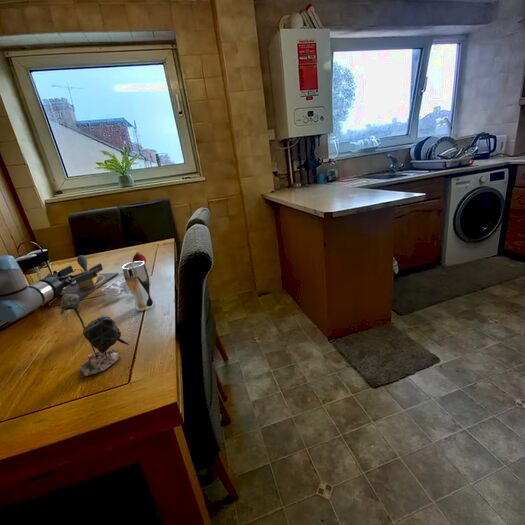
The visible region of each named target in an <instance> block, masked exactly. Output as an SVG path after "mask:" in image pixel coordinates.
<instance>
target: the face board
mask: <svg viewBox="0 0 525 525" xmlns="http://www.w3.org/2000/svg"><path fill="white" fill-rule="evenodd" d="M99 275H100V277H99V278H98V280H97V281H96V283H95V284H94V285H93V286H88V287H83V288H79V286H78V284H77V285H75V286H71V285H69V286H68V287H67V288H66V289H64V290H63V291H62V293H61V294H60V295H58V296H57V297H62V296H63V295H64V294H70V293H83V292H87V295H90V294H92V293H93V292H95V291H96V290H97V289H99V288H100V287H102V286H103V285H105V284H106V283H108V282H109V281H111V280H112V279H113V278H115V277H117V276H118V275H119V272H106V273H105V272H104V273H99Z"/></svg>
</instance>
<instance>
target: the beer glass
mask: <svg viewBox="0 0 525 525" xmlns="http://www.w3.org/2000/svg"><path fill="white" fill-rule="evenodd" d="M121 269H122V274H123V278H125V281H126V283H125V285H126V284H127V286H128V288H129V290H130V292H131V293H130V294H131V295H132V298H133V301H134V306H135V310H136V312H137V311H138V312H144V311H148V310H151V309H152V308H154V307H155V305H156V302H155V300H154V298H153V296H152V293H151V292H152V291H151V281H150V275H149V272H148V269H147V266H146V264H145V263H144V262H143V261H136V262H133V261H132V262H131V261H130V262H128V263H126V264H124V265H123V266H122V267H121Z"/></svg>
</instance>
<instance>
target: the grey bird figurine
mask: <svg viewBox="0 0 525 525" xmlns="http://www.w3.org/2000/svg"><path fill="white" fill-rule="evenodd" d="M61 299H62V301H61V300H60V306H59V307H60V308H61V312H60V315H63V314H64V312H65V311H69V310H73V311H74V312H75V314H76V315H77V317H78V318H79V321H80V323H81V325H82V328H83V330H82V335H83V336H84V338H85V339H86V340H87V341H88V343H89V344H90V346H91V349H92V351H93V353H90V354H88V355H87V359H86V361H84V362H83V363H81V365H80V368H79V369H80V370H79V373H80V378H85V377H88V376H92V375H94V374H97V373H102V371H103V372H104V371H106V370H107V369H108V368H109V367H111V366H112V365H113V364H115V363H116V362H118V361H119V360H121V355H120V353H119V351H118V350H116V349H112V350H109V349H110V348H111V347H112V346H114V345H116V343H117V342H120V343H121V344H124V345H127V346H128V345H130V343H129V342H128V341H125V340H124V339H121V337H122V332H121V330H120V328H119V326H118V325H117V324H116V322H115V321H114V320H113V318H111V316H109V315H101V316H99V317H96V319H93V320H91V321H90V322H89V323H88V324H87V325H86V326H85V323H84V321H83V319H82V317H81V315H80V312H79V310H78V308H79V307H80V301H79V299H80V298H79V295H74V294H64V295H63V296H61ZM96 350H97V351H96Z"/></svg>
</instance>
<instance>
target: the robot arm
mask: <svg viewBox="0 0 525 525" xmlns="http://www.w3.org/2000/svg"><path fill="white" fill-rule="evenodd" d="M103 270H104V268H103V265H102V263H98V264H96V265H94V266H92V267H91V268H89V269H88V271H85V272H84V271H83V272H79V273H76V274H72V273H73V272H74V269H73V266H72V265H69V266H66V267H64V268H62V269H61V270H59V271H57V270H53V271H52V274H53V277H52V276H51V274H50V273H48V274H47V275H46V276H45V277H43V278H41V279H39V280H38V281H35V282H33V283H31V284H29V285H28V283H27V282H26V279H25V277H24V274H23V272H22V270H21V267H20V265H19V264H18V262H17V260H16V259H15V257H14V255H13V256H12V255H9V254H4V255H0V322H4V323H13V322H15V321H18V320H19V319H21V318H24V317H26V316H28V314H30V313H32V312H33V311H34V310H36V309H37V308H39V307H43V306H44V305H45V304H46V303H47V302H49V301H51V300H54V299H55V298H57V297H59V296H58V295H60V294H61V293H62V291H63V288H64V287H67V286H69V285H71V286H75V285H77V284H79V283H81V282H84V281H86V280H89V279H92V278H95V277H97V273H98V272H99V273H100V272H101V271H103Z"/></svg>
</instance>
